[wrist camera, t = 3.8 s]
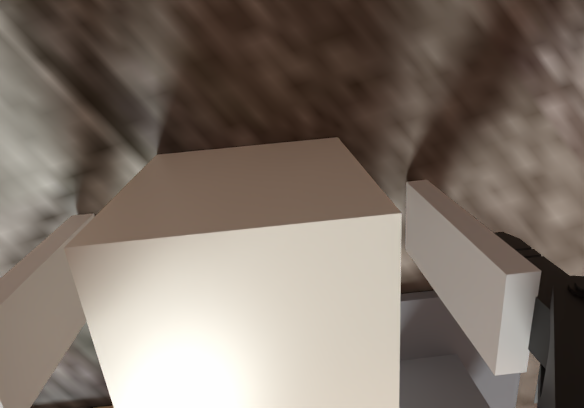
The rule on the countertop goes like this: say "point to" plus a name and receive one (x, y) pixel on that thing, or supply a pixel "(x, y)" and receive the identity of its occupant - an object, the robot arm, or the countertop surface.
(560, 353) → the robot arm
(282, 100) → the countertop surface
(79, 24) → the countertop surface
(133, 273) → the cream cube
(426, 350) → the square plate with knob
